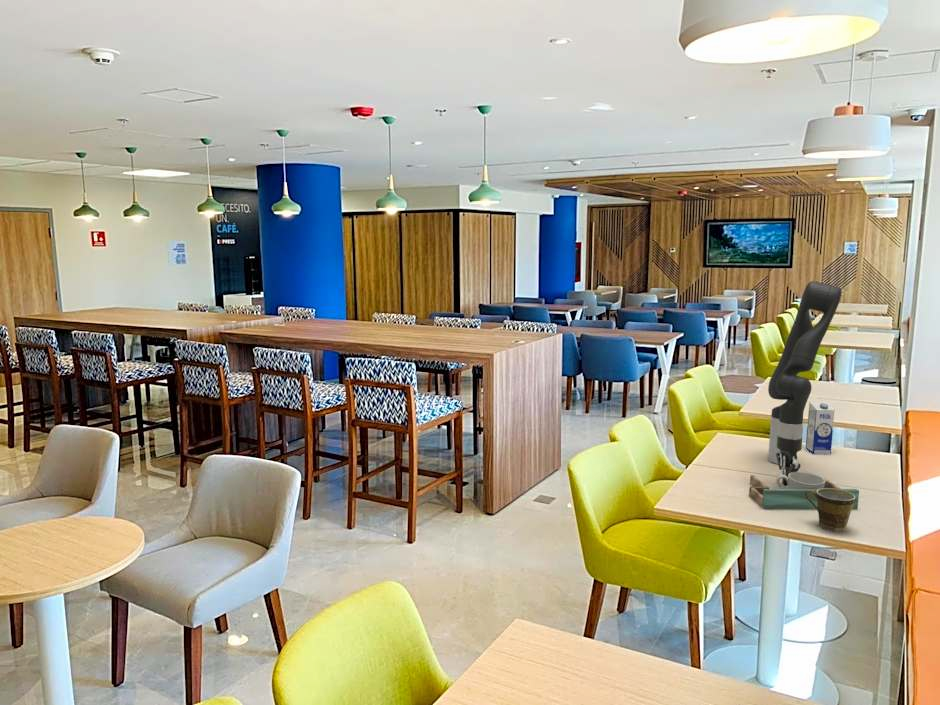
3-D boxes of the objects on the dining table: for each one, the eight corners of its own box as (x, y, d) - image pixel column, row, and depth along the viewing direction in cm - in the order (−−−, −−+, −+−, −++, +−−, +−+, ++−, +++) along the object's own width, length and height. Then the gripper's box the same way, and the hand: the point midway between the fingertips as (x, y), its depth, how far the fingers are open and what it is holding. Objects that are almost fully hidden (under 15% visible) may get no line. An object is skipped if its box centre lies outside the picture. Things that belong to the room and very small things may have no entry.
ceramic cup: (856, 526, 199) (859, 493, 197) (847, 537, 191) (850, 503, 190) (808, 514, 207) (811, 483, 206) (798, 524, 200) (800, 491, 198)
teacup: (825, 498, 221) (827, 475, 219) (821, 509, 211) (823, 484, 210) (778, 490, 228) (780, 467, 227) (773, 500, 219) (774, 476, 218)
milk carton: (822, 449, 274) (827, 401, 271) (831, 454, 267) (835, 405, 264) (804, 449, 274) (808, 400, 271) (812, 454, 267) (816, 404, 264)
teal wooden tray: (735, 483, 234) (736, 466, 233) (819, 483, 234) (821, 467, 234) (764, 509, 212) (765, 490, 211) (857, 509, 212) (859, 490, 211)
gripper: (769, 429, 232) (766, 478, 235) (787, 441, 219) (784, 492, 222) (791, 429, 232) (788, 478, 235) (811, 440, 219) (807, 492, 222)
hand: (786, 485), depth 228 cm, fingers closed
